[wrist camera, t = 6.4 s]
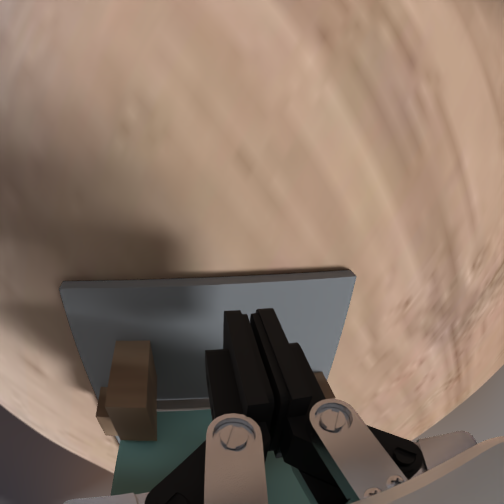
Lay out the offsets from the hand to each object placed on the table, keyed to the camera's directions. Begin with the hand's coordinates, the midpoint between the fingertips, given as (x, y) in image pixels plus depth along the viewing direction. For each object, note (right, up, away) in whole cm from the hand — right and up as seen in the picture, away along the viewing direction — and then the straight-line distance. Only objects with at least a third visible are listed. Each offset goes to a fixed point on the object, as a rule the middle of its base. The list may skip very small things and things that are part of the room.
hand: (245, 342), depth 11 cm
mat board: (-2, -6, +6) cm, 9 cm away
